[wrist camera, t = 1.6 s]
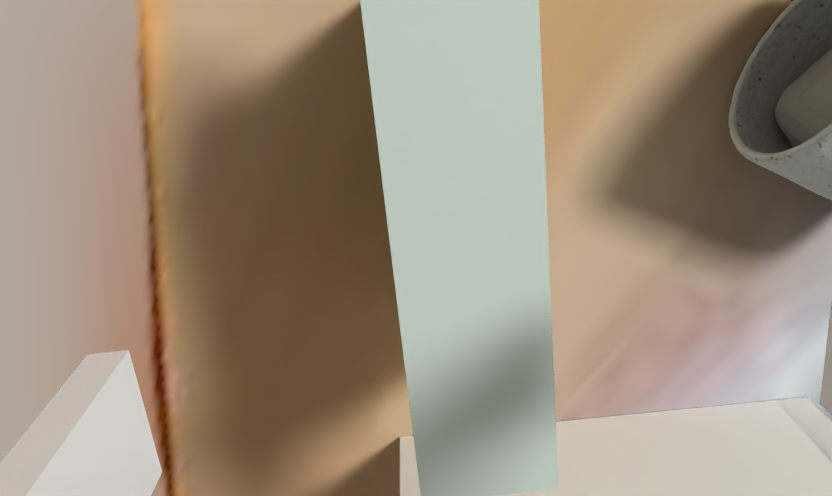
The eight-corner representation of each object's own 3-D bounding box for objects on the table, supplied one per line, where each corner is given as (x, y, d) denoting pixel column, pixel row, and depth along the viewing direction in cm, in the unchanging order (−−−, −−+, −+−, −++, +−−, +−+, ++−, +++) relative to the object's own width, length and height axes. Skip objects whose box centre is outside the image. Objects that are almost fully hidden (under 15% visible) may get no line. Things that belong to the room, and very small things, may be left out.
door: (475, -116, 26) (531, -187, 15) (507, 373, 33) (562, 574, 22) (365, -104, 26) (339, -165, 15) (421, 382, 33) (431, 586, 22)
